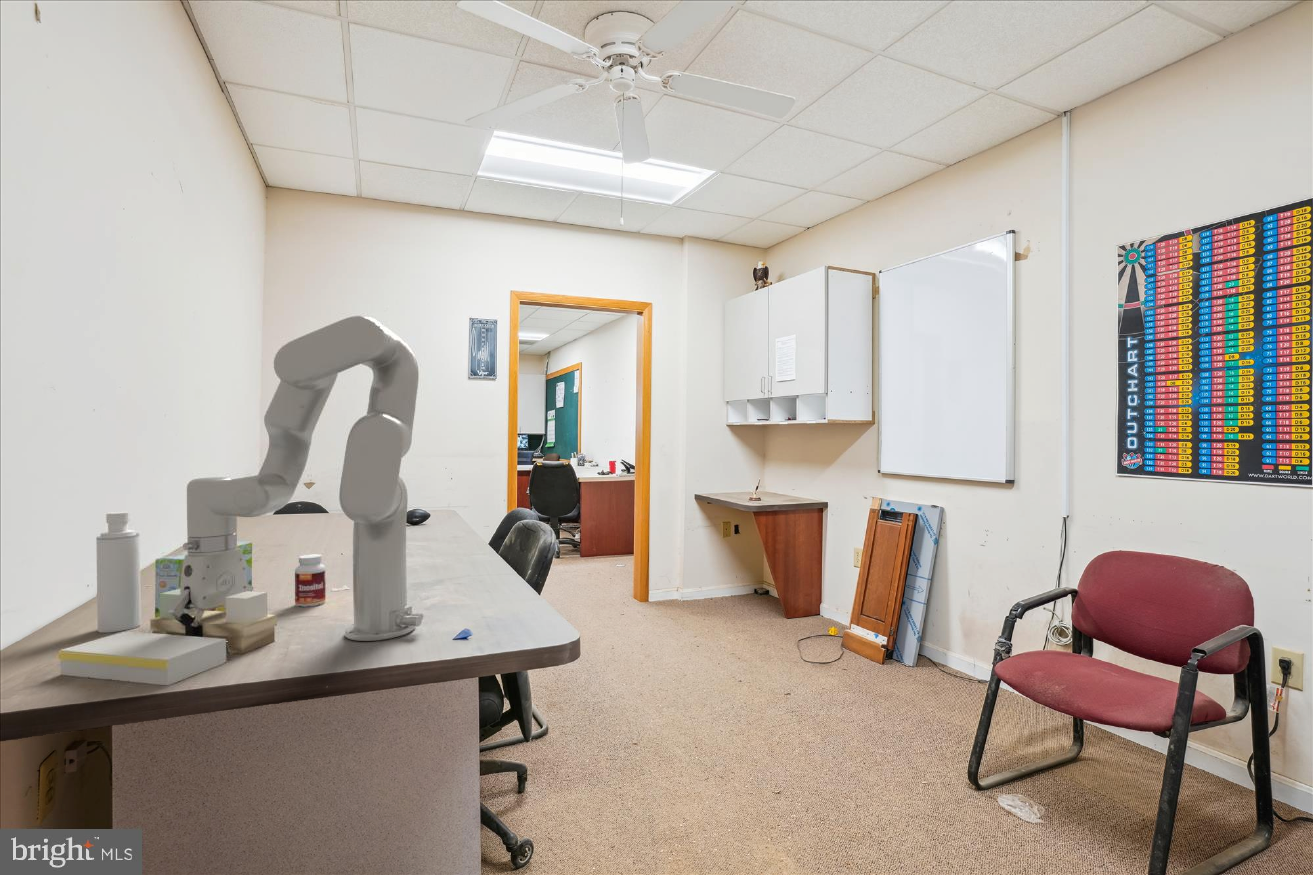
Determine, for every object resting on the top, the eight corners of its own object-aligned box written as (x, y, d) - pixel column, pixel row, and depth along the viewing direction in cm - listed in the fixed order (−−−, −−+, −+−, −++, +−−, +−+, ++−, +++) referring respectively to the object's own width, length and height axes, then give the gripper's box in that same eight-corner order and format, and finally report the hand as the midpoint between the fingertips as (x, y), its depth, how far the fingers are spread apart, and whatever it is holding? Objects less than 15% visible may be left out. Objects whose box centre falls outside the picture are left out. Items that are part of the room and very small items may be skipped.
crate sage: (202, 612, 120) (202, 588, 120) (179, 619, 115) (179, 594, 115) (183, 611, 121) (183, 587, 121) (160, 617, 116) (159, 593, 116)
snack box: (181, 636, 122) (180, 558, 122) (153, 636, 122) (152, 558, 122) (254, 606, 143) (253, 540, 143) (229, 606, 143) (228, 540, 143)
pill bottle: (296, 609, 140) (295, 559, 140) (293, 603, 145) (292, 555, 145) (327, 604, 143) (327, 556, 143) (323, 599, 148) (323, 552, 148)
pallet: (276, 641, 117) (276, 614, 117) (244, 654, 110) (243, 626, 110) (187, 634, 122) (186, 609, 122) (150, 646, 115) (150, 619, 115)
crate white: (267, 616, 116) (267, 592, 116) (246, 623, 112) (246, 598, 112) (247, 615, 117) (247, 591, 117) (225, 622, 113) (225, 597, 113)
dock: (226, 662, 106) (225, 638, 106) (165, 686, 96) (165, 660, 96) (125, 653, 112) (125, 631, 112) (58, 675, 102) (58, 650, 102)
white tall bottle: (90, 630, 126) (88, 505, 126) (129, 621, 132) (127, 502, 132) (109, 634, 123) (107, 507, 123) (148, 624, 129) (146, 503, 129)
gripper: (183, 553, 107) (185, 657, 107) (268, 537, 124) (269, 627, 124) (149, 552, 109) (150, 654, 109) (237, 536, 126) (238, 625, 126)
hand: (214, 639), depth 116 cm, fingers closed on pallet, 7 cm apart
